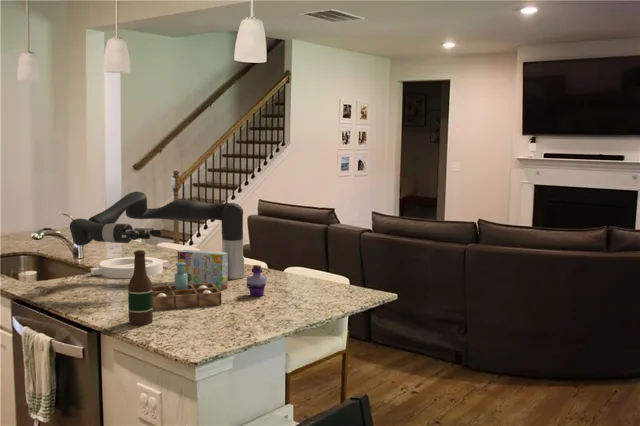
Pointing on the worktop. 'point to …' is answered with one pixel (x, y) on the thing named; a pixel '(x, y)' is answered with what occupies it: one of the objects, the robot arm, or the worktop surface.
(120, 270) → the white circle with bar
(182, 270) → the bud vase
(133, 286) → the beer bottle
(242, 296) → the worktop surface
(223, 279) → the snack box
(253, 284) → the potion bottle
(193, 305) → the crate
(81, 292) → the worktop surface
